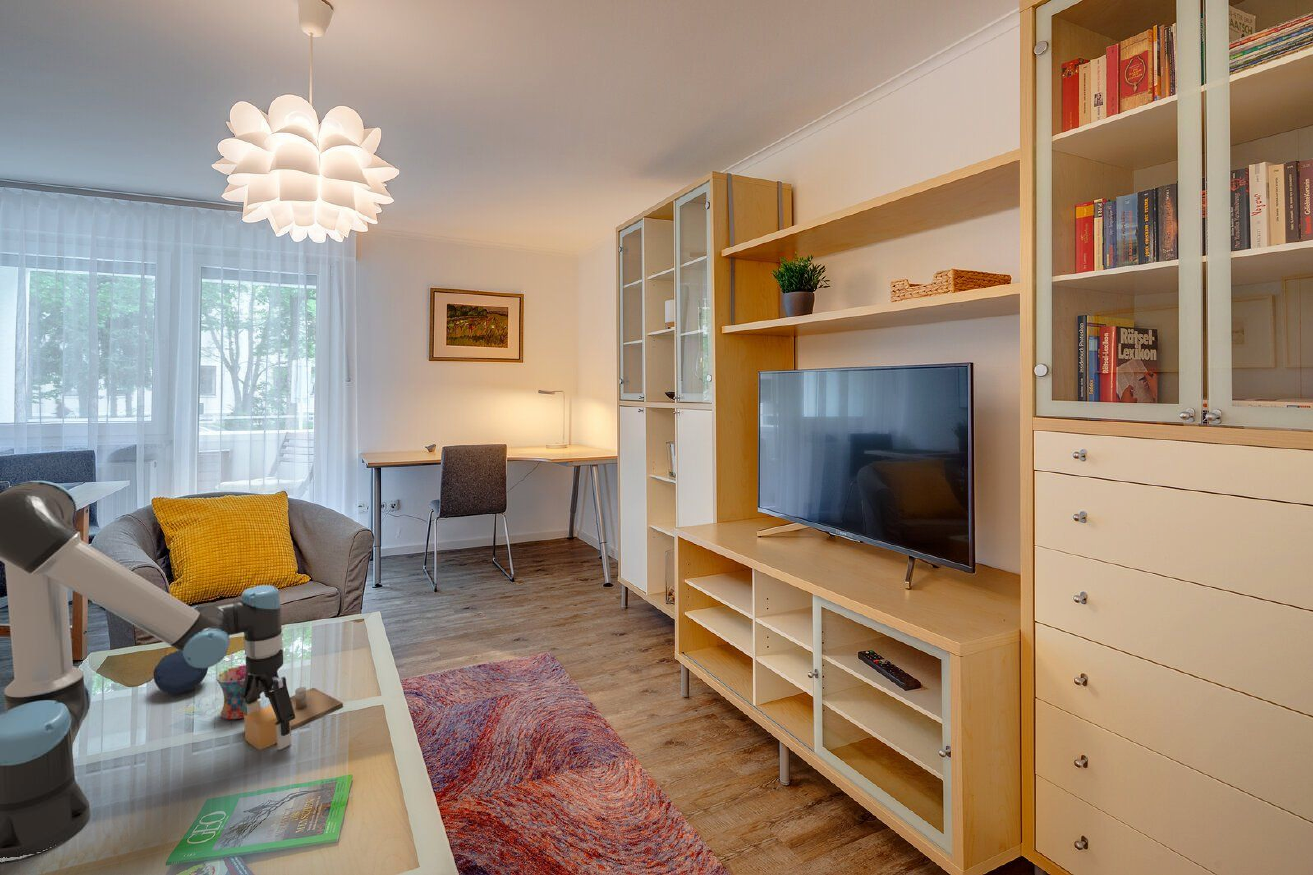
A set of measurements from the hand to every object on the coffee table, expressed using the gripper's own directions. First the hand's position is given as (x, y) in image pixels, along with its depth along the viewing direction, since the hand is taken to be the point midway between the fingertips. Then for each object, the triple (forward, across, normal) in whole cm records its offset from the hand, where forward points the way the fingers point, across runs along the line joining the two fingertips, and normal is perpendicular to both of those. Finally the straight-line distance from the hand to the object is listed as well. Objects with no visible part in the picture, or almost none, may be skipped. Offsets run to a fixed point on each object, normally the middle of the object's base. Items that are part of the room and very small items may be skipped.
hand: (269, 737), depth 152 cm
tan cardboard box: (0, 0, 0) cm, 0 cm away
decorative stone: (0, +42, +2) cm, 42 cm away
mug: (0, +17, -3) cm, 17 cm away
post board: (0, +6, -11) cm, 12 cm away
